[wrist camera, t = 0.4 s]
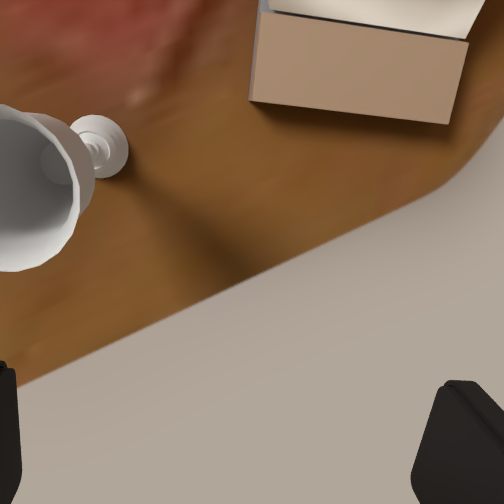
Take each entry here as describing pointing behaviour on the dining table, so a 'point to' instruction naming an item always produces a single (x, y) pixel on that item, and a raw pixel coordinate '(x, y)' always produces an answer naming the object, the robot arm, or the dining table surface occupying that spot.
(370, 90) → the floor sample board
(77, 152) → the chalice
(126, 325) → the dining table surface
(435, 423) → the robot arm
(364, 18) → the pale plank
